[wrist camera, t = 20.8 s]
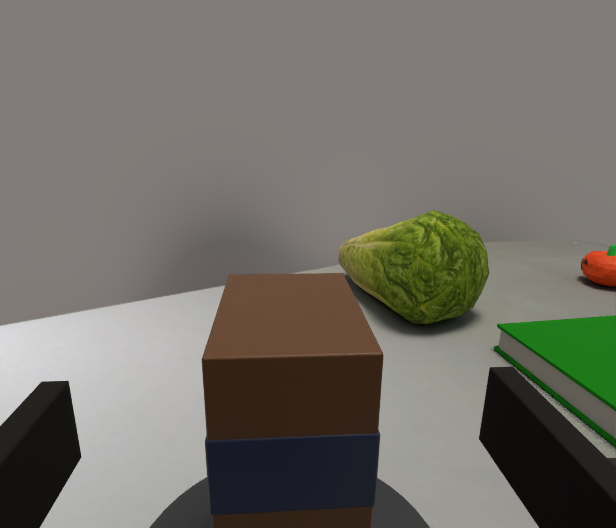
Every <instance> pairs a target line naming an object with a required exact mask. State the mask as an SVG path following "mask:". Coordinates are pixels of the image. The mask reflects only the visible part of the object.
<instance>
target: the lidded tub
mask: <svg viewBox="0 0 616 528" xmlns="http://www.w3.org/2000/svg"><path fill="white" fill-rule="evenodd" d="M150 528H213V520H212V515H211V514H210V509H209V494H208V479H207V477H206V478H205V479H203V480H202V481H200V482H198V483H197V484H195V485H194V486H192V487H191V488H190V489H188V490H187V491H186V492H184V493H183V494H182V495H180V496H179V497H178V498H177V499H176V500H175V501H174V502H173V503H172V504H171V505H169V506H168V507H167V508H166V509H165V510H164V511H163V513H162V514H161V515H160V516H159V517H158V518H157V519H156V521H155V522H154V523H153V524H152V525H151V527H150ZM371 528H429V526H428V525H427V523H426V522H425V521H424V519H423V518H422V517H421V516H420V514H419V513H418V512H417V511H416V510H415V509H414V508H413V507H412V506H411V504H410V503H409V502H408V501H407V500H406V499H405V498H404V497H402V496H401V495H400V494H399V493H398V492H396V491H395V490H394V489H393V488H391V487H390V486H389V485H387V484H386V483H384V482H383V481H381V480H380V479H378V478H377V486H376V500H375V506H373V511H372V525H371Z"/></svg>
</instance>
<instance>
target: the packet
mask: <svg viewBox="0 0 616 528" xmlns="http://www.w3.org/2000/svg"><path fill="white" fill-rule="evenodd" d="M382 368H383V352H382V350H381V348H380V346H379V344H378V342H377V340H376V338H375V336H374V334H373V332H372V330H371V328H370V326H369V324H368V322H367V320H366V318H365V316H364V314H363V312H362V310H361V308H360V306H359V304H358V302H357V300H356V298H355V296H354V294H353V292H352V290H351V288H350V286H349V284H348V282H347V280H346V278H345V276H344V274H343V273H322V274H247V275H246V274H243V275H242V274H241V275H229V276H228V279H227V282H226V285H225V289H224V292H223V295H222V298H221V301H220V304H219V307H218V310H217V314H216V317H215V320H214V323H213V326H212V329H211V332H210V335H209V339H208V342H207V345H206V348H205V351H204V354H203V357H202V371H203V386H204V400H205V415H206V430H207V435H206V439H205V450H206V465H207V479H208V494H209V509H210V514H211V515H212V520H213V528H371V525H372V511H373V506H375V500H376V486H377V472H378V458H379V444H380V433H379V430H378V425H379V410H380V396H381V382H382Z"/></svg>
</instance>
